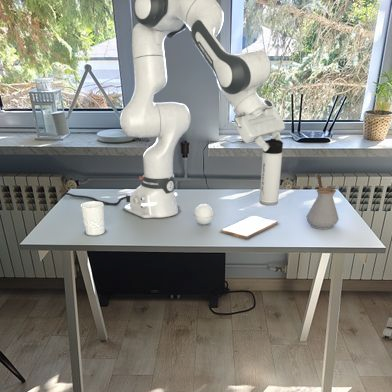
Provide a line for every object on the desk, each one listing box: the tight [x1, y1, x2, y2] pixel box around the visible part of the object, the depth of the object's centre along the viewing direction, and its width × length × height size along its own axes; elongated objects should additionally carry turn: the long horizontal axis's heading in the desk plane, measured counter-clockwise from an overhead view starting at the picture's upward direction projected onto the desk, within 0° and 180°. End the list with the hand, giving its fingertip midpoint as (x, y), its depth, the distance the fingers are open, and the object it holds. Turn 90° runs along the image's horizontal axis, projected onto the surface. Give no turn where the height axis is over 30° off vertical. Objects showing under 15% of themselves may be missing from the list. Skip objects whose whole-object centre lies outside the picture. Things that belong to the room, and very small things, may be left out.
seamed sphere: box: [193, 203, 215, 226], centre depth 183 cm, size 10×7×7 cm
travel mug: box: [259, 138, 284, 207], centre depth 165 cm, size 6×7×20 cm
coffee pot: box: [306, 172, 340, 230], centre depth 183 cm, size 21×12×15 cm, turn 0°
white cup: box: [80, 200, 106, 236], centre depth 177 cm, size 8×8×10 cm
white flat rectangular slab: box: [221, 214, 279, 240], centre depth 182 cm, size 11×20×1 cm, turn 140°
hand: (274, 147), depth 161 cm, fingers closed on travel mug, 6 cm apart
